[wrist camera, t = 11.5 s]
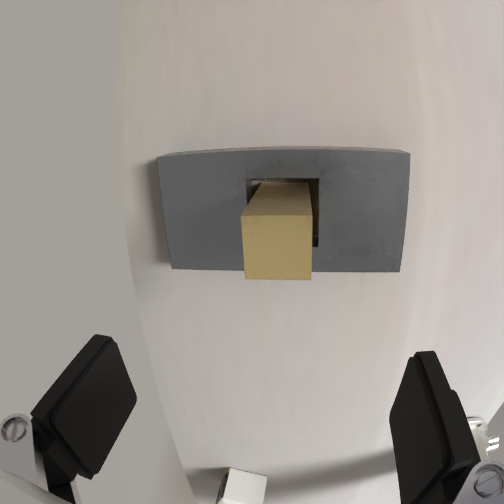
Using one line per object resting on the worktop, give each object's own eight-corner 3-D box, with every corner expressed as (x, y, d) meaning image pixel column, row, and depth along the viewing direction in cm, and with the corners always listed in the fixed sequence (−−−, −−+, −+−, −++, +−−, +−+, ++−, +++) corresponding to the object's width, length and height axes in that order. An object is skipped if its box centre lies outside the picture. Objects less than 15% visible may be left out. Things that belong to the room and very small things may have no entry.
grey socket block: (399, 149, 24) (410, 153, 21) (391, 257, 28) (399, 272, 25) (170, 153, 27) (156, 157, 24) (182, 255, 31) (171, 268, 28)
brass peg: (308, 182, 27) (312, 215, 17) (308, 226, 28) (311, 280, 19) (261, 182, 27) (240, 215, 18) (263, 226, 29) (245, 279, 20)
